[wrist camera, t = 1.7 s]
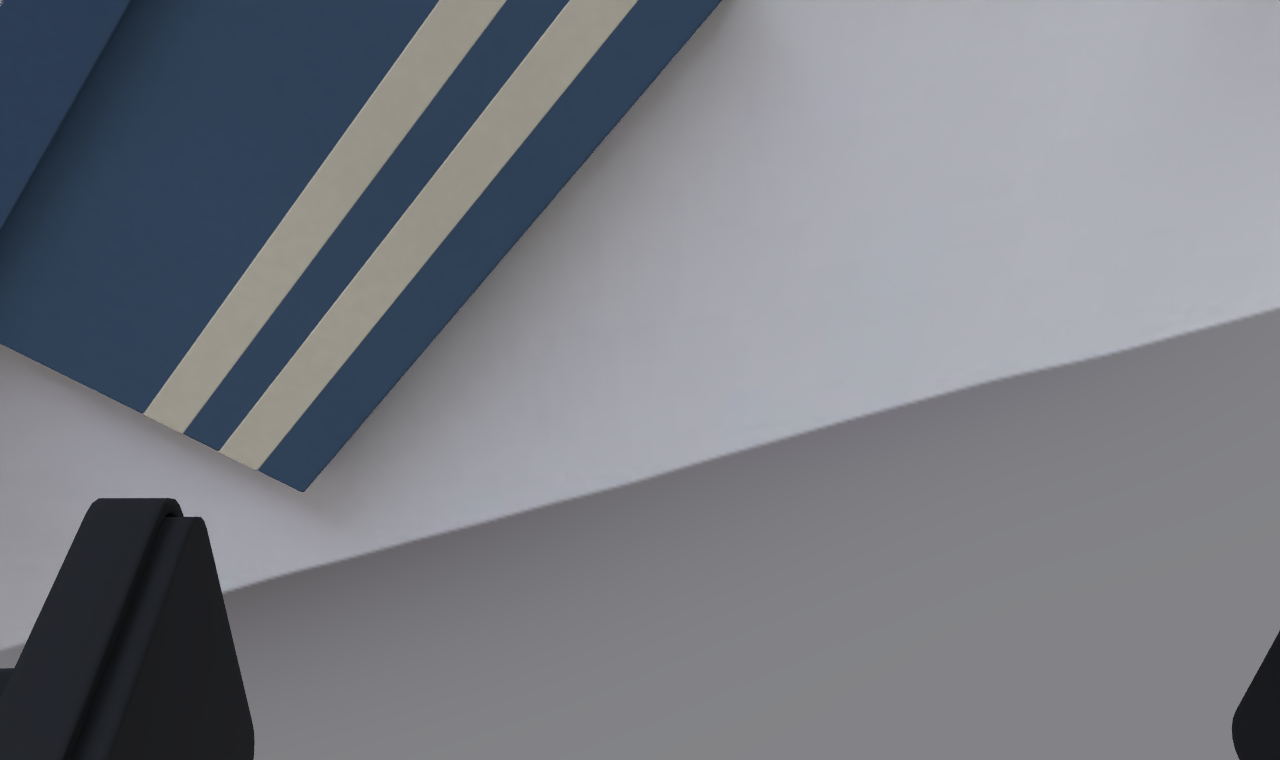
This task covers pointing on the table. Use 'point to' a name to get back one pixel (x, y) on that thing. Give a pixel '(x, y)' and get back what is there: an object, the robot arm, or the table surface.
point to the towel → (287, 190)
